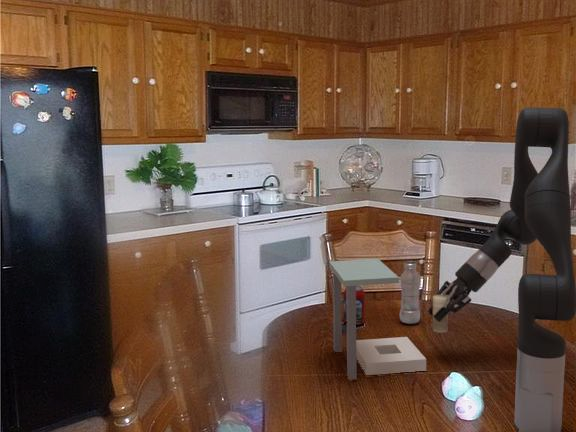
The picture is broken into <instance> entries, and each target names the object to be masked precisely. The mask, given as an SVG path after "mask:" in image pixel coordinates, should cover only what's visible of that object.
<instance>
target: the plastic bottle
mask: <svg viewBox="0 0 576 432" xmlns="http://www.w3.org/2000/svg"><path fill="white" fill-rule="evenodd" d="M417 269H418V267H417V262H416V261H412V260H411V261H404V270H403V272H402V273H401V275H400V277H399V284H400V289H401V290H400V291H401V305H400V309H399V320H400V322H401V323H403V324H408V325H412V324H414V325H415V324H418V323H419V321H420V319H421V309H420V302H419V301H420V298H419V295H420V287H421V283H422V281H421V280H422V277H421V275H420V273H419V272H418V271H417Z"/></svg>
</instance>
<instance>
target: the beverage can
mask: <svg viewBox="0 0 576 432" xmlns="http://www.w3.org/2000/svg"><path fill="white" fill-rule="evenodd" d="M365 297H366V293H365V291H364V289H363V286H362V285H360V286H356V320H361V321H362V322H363V324H364V323H366V322H365V321H366V320H365V319H366V312H365V311H366V309H365V308H366V299H365ZM346 321H347V309H346V288H345V289H344V290H343V322H344V323H345V322H346Z"/></svg>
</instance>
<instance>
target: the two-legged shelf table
mask: <svg viewBox="0 0 576 432" xmlns="http://www.w3.org/2000/svg"><path fill="white" fill-rule="evenodd" d="M328 267H329V268H330V270H331V271H332V303H333V304H332V312H333V313H332V315H333V316H332V318H333V319H332V321H333V325H332V327H333V352H334V351H335V352H342V353H343V320H342V319H343V318H342V317H343V313H342V312H343V311H342V309H343V308H342V307H343V306H342V305H343V304H342V286H343V287H345V289H346V309H347V323H346V370H347V371H346V377H347V376H348V378H347V380H348V379H358V378H357V370H358V369H357V363H358V361H357V359H356V340H357V326H356V286H373V285H375V286H377V285H389V284H390V285H392V284H400V276H398V274H396V273H395V272H394V271H393V270H392V269H390V267H388V266H387V265H386V264H384V262H383V261H381V260H380V259H379V258H367V259H349V260H330V261H328ZM335 352H334V353H335Z"/></svg>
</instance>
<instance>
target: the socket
mask: <svg viewBox="0 0 576 432" xmlns="http://www.w3.org/2000/svg"><path fill="white" fill-rule="evenodd" d="M356 358H357V359H356V361H357V360H358V361H357V363H358V362H359V363H360V365H361V366H360V365H359V366H360V368H361V367H362V368H361V370H362V369H363V370H364V372H365V373H364V372H363V373H364V375H365V374H366V375H371V374H372V375H373V374H388V373H400V372H415V371H426V372H427V358H426V357H425V356H424V355H423V354H422V353H421V351H420V350H419V349H418V348H417V347H416V346H415V344H414V343H413V342H412V341H411V340H410V339H409V337H408V336H400V337H399V336H398V337H386V338H385V337H384V338H371V339H369V338H368V339H356ZM359 363H358V364H359ZM363 370H362V371H363ZM366 375H365V376H366Z"/></svg>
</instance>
